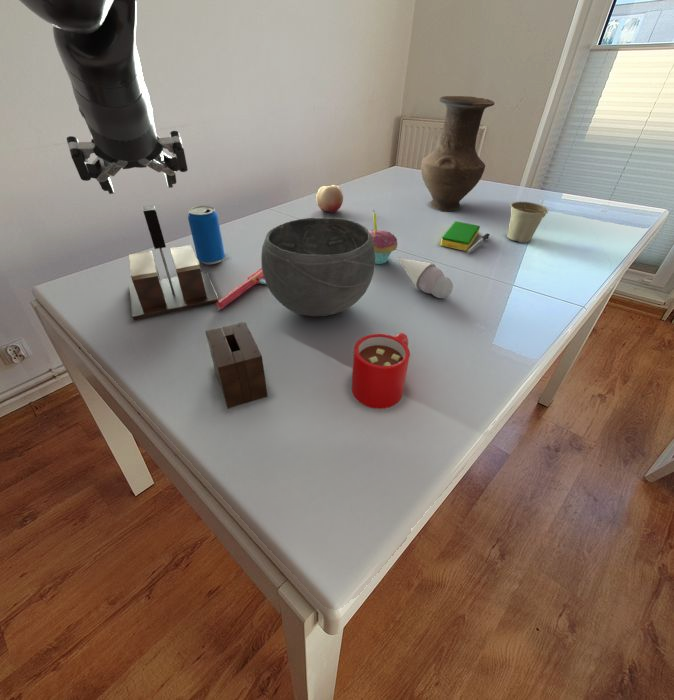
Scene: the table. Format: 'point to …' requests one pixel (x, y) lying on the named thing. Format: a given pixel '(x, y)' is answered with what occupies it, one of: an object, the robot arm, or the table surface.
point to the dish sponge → (460, 236)
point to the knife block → (237, 364)
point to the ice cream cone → (427, 277)
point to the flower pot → (525, 220)
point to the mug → (380, 369)
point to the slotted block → (168, 285)
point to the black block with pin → (156, 235)
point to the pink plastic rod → (242, 288)
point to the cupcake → (382, 243)
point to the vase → (455, 153)
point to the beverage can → (206, 234)
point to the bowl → (318, 264)
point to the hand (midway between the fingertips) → (140, 185)
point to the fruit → (329, 198)
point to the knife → (479, 243)
